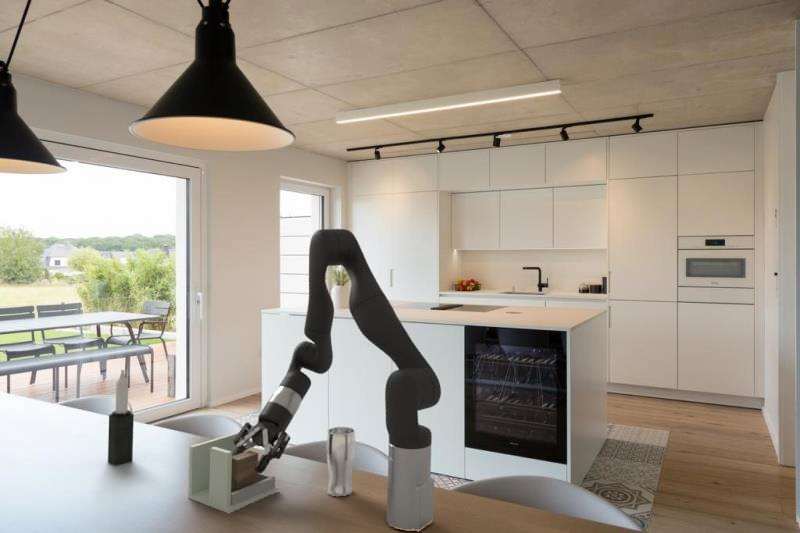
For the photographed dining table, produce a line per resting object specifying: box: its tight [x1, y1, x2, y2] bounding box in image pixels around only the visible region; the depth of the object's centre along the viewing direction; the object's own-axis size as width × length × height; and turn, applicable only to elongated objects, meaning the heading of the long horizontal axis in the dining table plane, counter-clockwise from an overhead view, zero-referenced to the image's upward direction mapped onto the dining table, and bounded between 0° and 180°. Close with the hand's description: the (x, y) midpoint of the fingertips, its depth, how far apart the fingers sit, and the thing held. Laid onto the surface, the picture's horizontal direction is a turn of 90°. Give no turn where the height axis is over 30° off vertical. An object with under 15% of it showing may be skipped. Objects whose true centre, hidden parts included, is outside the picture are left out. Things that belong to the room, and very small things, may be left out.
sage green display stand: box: [187, 431, 280, 514], centre depth 135 cm, size 14×15×13 cm
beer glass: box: [325, 426, 356, 496], centre depth 138 cm, size 7×7×15 cm
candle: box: [107, 369, 135, 466], centre depth 155 cm, size 5×5×25 cm
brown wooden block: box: [231, 450, 259, 493], centre depth 133 cm, size 3×6×9 cm, turn 146°
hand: (244, 467), depth 133 cm, fingers open, 8 cm apart
